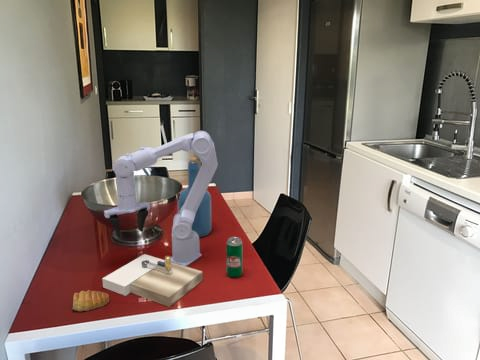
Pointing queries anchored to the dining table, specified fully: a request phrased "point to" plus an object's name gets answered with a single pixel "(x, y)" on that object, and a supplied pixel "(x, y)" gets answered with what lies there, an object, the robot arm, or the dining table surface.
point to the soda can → (234, 257)
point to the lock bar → (165, 269)
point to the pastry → (89, 300)
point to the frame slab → (128, 275)
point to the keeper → (161, 263)
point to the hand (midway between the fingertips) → (129, 233)
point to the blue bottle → (203, 214)
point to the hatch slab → (167, 284)
